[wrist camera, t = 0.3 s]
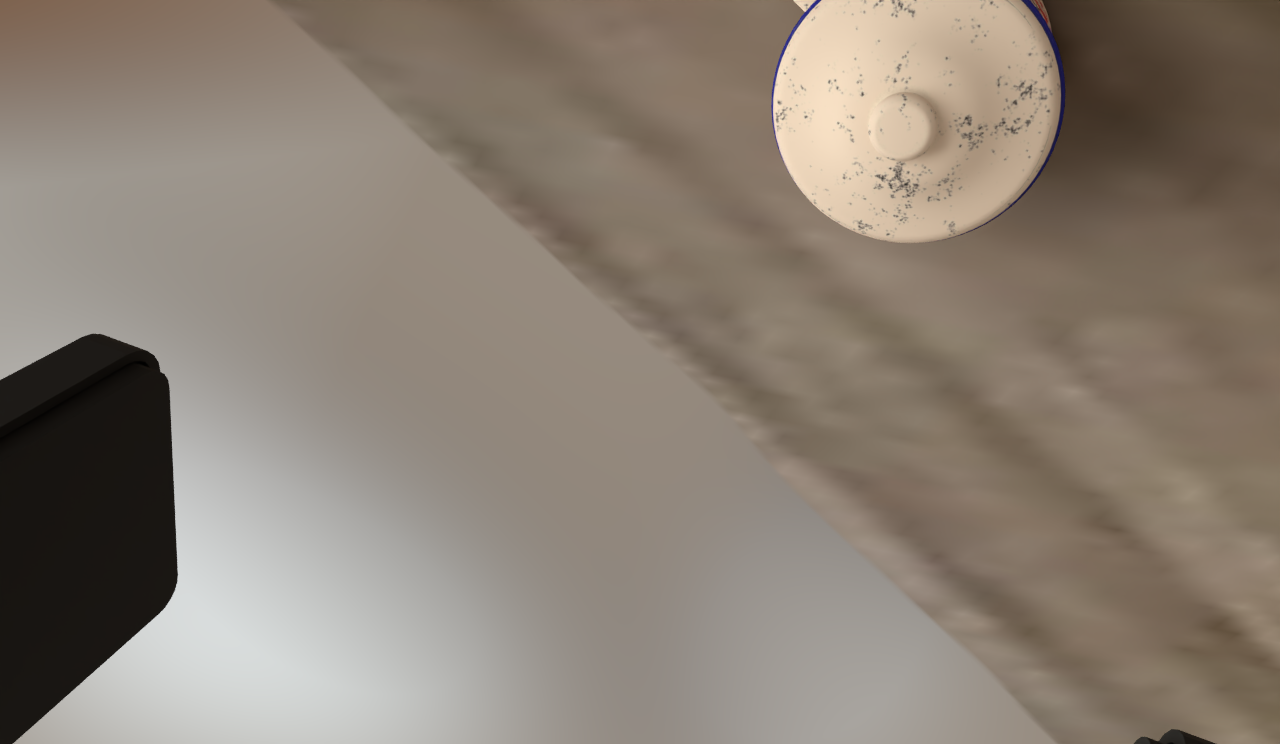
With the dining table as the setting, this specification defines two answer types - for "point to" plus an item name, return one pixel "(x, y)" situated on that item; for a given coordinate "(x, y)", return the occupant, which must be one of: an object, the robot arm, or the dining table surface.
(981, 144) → the teacup with lid
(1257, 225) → the dining table surface
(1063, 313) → the dining table surface
